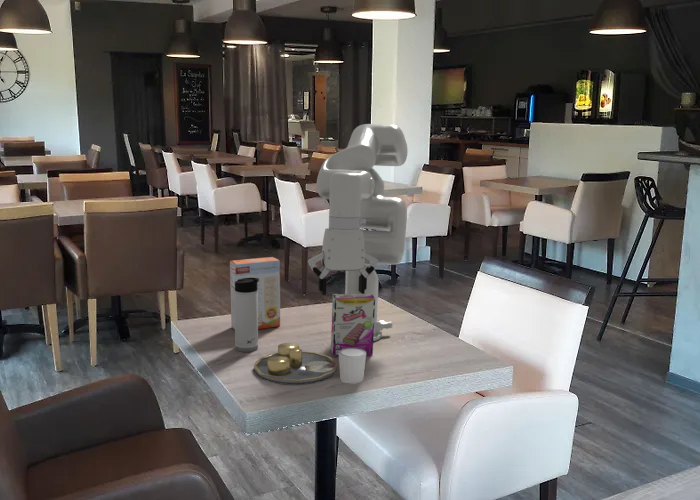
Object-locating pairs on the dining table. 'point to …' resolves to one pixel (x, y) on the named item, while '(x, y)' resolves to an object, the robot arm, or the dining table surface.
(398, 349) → the dining table surface
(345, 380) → the shot glass
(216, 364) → the dining table surface
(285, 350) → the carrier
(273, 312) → the cracker box
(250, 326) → the travel mug
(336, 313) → the candy bar box
